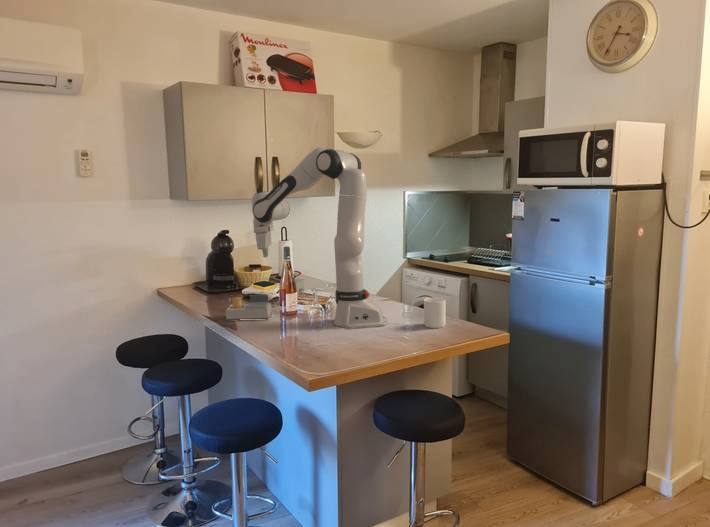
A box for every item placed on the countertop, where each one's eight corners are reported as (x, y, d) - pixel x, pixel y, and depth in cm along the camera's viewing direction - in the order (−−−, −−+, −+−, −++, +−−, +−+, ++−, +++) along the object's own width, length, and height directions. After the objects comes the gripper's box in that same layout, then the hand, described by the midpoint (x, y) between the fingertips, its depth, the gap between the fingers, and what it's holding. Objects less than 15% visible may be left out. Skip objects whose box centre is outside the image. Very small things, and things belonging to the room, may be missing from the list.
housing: (271, 314, 246) (270, 300, 245) (267, 320, 235) (267, 305, 234) (231, 315, 246) (230, 301, 245) (226, 321, 235) (225, 306, 234)
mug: (453, 323, 222) (453, 297, 220) (438, 329, 212) (438, 303, 211) (435, 320, 227) (435, 295, 225) (419, 326, 218) (419, 300, 216)
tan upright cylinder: (243, 314, 242) (242, 297, 241) (241, 316, 238) (240, 298, 237) (234, 314, 242) (233, 297, 241) (232, 316, 238) (231, 299, 237)
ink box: (281, 304, 265) (280, 281, 263) (290, 301, 273) (288, 278, 271) (297, 305, 262) (296, 281, 260) (305, 302, 270) (304, 278, 268)
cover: (268, 302, 245) (268, 294, 244) (265, 307, 235) (264, 299, 235) (250, 303, 245) (250, 295, 244) (246, 308, 235) (246, 299, 235)
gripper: (260, 226, 259) (262, 254, 261) (252, 229, 239) (255, 260, 241) (273, 225, 259) (275, 253, 261) (267, 228, 239) (269, 259, 241)
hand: (265, 257), depth 251 cm, fingers closed
